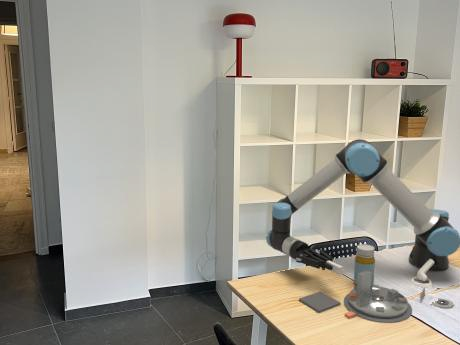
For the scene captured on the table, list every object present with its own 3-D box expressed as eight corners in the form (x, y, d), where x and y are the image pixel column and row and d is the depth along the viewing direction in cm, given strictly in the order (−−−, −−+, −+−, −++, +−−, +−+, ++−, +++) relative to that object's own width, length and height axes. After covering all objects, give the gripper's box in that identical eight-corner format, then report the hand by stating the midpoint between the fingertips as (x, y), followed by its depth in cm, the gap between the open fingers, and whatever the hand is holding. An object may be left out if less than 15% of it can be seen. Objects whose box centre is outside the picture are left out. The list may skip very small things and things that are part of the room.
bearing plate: (373, 285, 166) (373, 284, 166) (426, 310, 147) (426, 309, 147) (330, 300, 154) (330, 299, 154) (382, 330, 136) (382, 329, 136)
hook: (450, 273, 163) (440, 266, 160) (428, 297, 165) (417, 291, 162) (436, 262, 170) (426, 254, 166) (415, 285, 172) (405, 278, 168)
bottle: (359, 279, 171) (361, 242, 168) (376, 285, 166) (379, 247, 163) (350, 285, 166) (352, 247, 163) (367, 291, 161) (369, 252, 158)
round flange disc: (373, 286, 163) (375, 252, 161) (419, 308, 148) (422, 271, 145) (336, 299, 154) (338, 264, 151) (381, 324, 138) (384, 285, 135)
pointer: (351, 313, 146) (351, 310, 145) (355, 316, 144) (355, 313, 144) (344, 316, 144) (344, 313, 144) (349, 319, 142) (349, 316, 142)
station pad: (320, 293, 160) (320, 291, 160) (340, 304, 151) (340, 302, 151) (298, 300, 154) (298, 298, 154) (318, 313, 146) (319, 310, 146)
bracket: (451, 311, 147) (452, 301, 147) (419, 303, 153) (420, 294, 152) (454, 303, 153) (455, 294, 152) (423, 296, 158) (424, 287, 158)
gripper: (308, 254, 178) (353, 276, 158) (282, 261, 171) (326, 285, 151) (309, 237, 176) (354, 256, 157) (283, 243, 169) (327, 264, 150)
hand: (341, 270), depth 154 cm, fingers closed
